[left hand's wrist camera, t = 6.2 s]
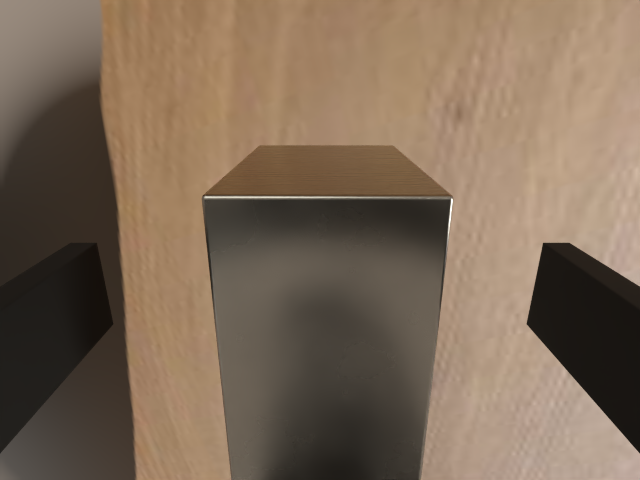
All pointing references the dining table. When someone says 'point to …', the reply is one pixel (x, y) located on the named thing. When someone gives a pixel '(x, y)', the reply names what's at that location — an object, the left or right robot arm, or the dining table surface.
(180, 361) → the dining table surface
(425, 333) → the bar
